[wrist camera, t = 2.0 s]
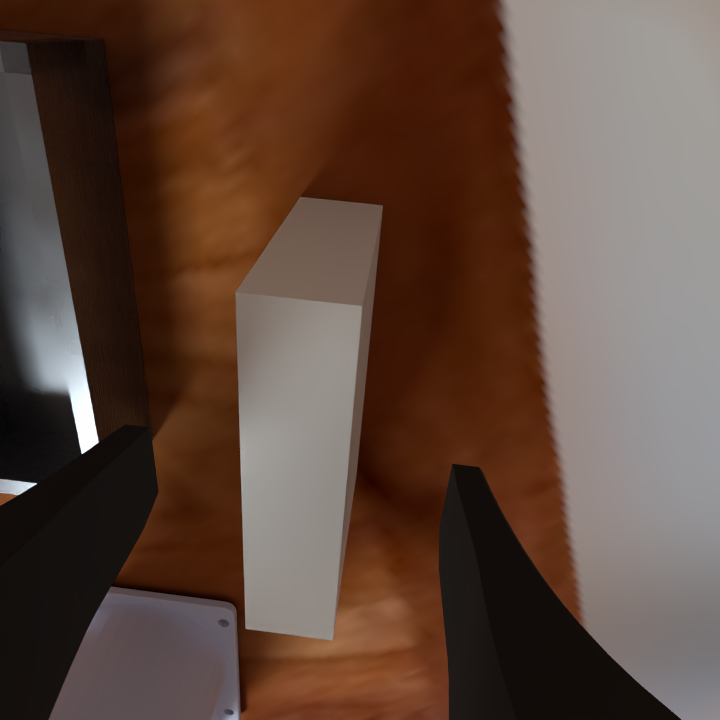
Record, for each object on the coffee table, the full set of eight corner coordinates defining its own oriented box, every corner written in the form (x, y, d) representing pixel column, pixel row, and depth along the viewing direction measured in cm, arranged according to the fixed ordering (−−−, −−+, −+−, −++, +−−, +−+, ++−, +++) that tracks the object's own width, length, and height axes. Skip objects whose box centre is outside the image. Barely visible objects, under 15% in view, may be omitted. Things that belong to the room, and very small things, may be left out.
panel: (357, 470, 22) (332, 640, 16) (293, 462, 22) (245, 628, 16) (383, 204, 17) (362, 306, 11) (300, 196, 17) (235, 292, 11)
